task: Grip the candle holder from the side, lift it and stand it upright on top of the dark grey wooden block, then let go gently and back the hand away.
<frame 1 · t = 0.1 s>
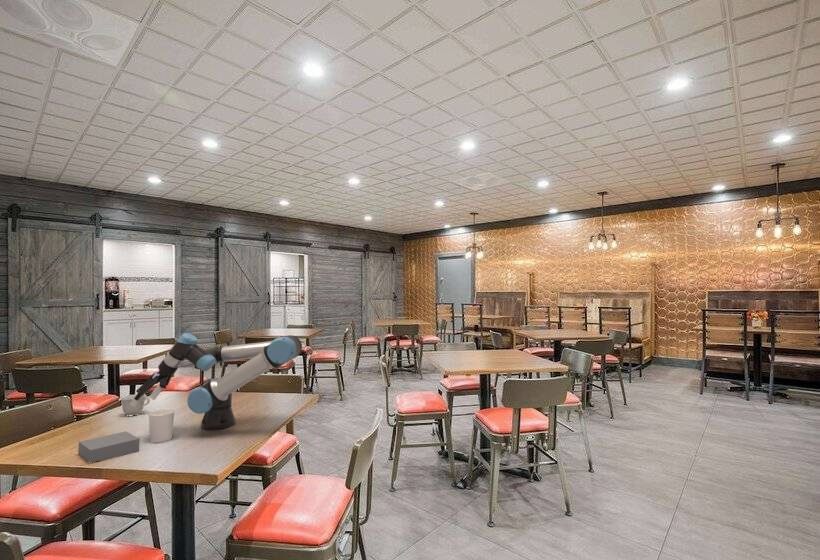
hand: (142, 401, 181), 15 cm above the table, tool tilted 35°, fingers open, 13 cm apart
teacup: (135, 415, 215), on the table
riser block: (108, 452, 159), on the table
candle holder: (160, 440, 174), on the table
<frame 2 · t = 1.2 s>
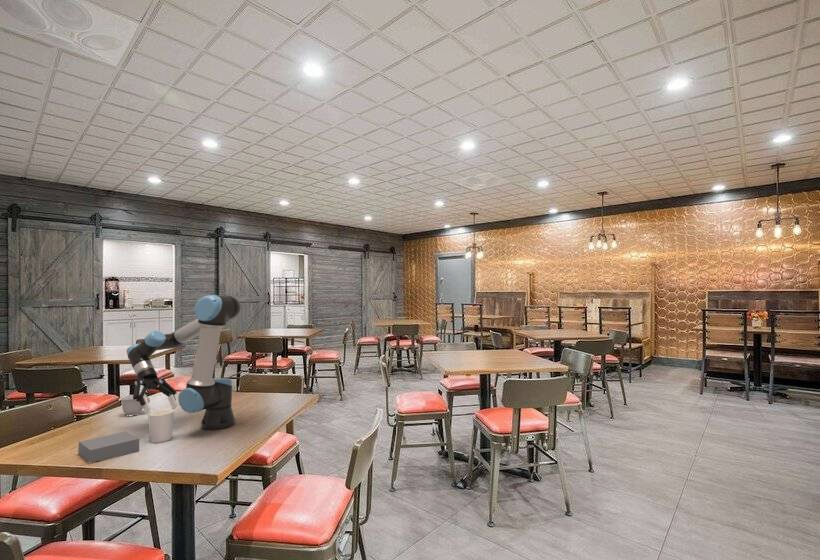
hand: (162, 409, 180), 12 cm above the table, tool tilted 45°, fingers open, 13 cm apart
nothing on the table moved.
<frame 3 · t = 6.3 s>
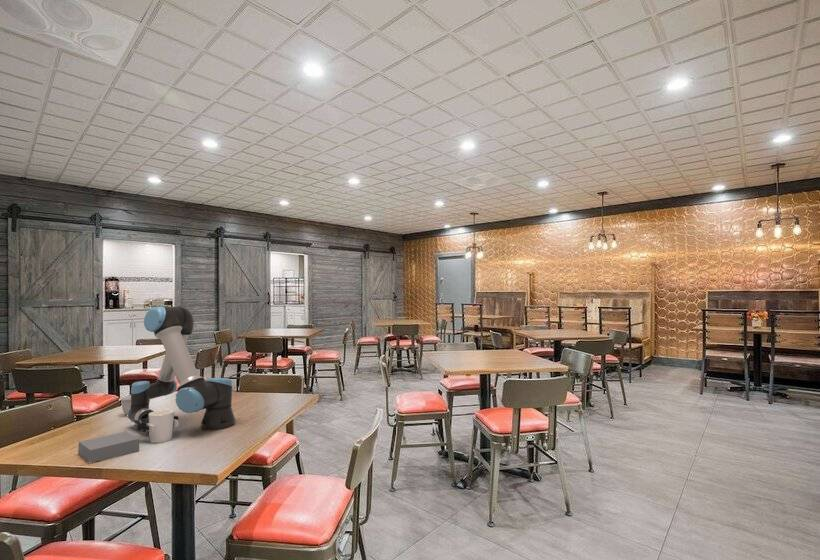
hand: (165, 426, 171), 7 cm above the table, tool horizontal, fingers closed on candle holder, 9 cm apart
candle holder: (160, 440, 174), on the table, touching gripper
everything else where it was.
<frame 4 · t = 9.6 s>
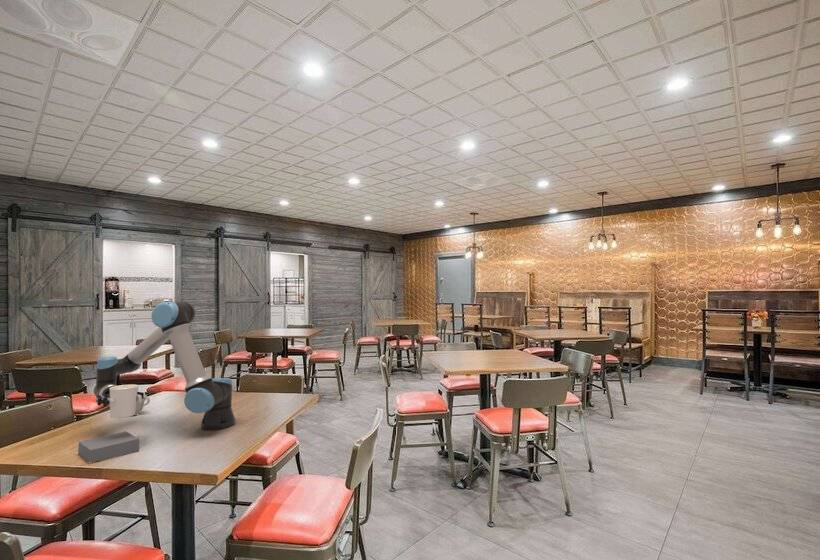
hand: (127, 401, 162), 20 cm above the table, tool horizontal, fingers closed on candle holder, 9 cm apart
candle holder: (122, 416, 165), point 13 cm above the table, touching gripper
everything else where it was.
when the fingers open (12 cm above the table, at t = 12.6 s): candle holder moves 2 cm, resting on riser block.
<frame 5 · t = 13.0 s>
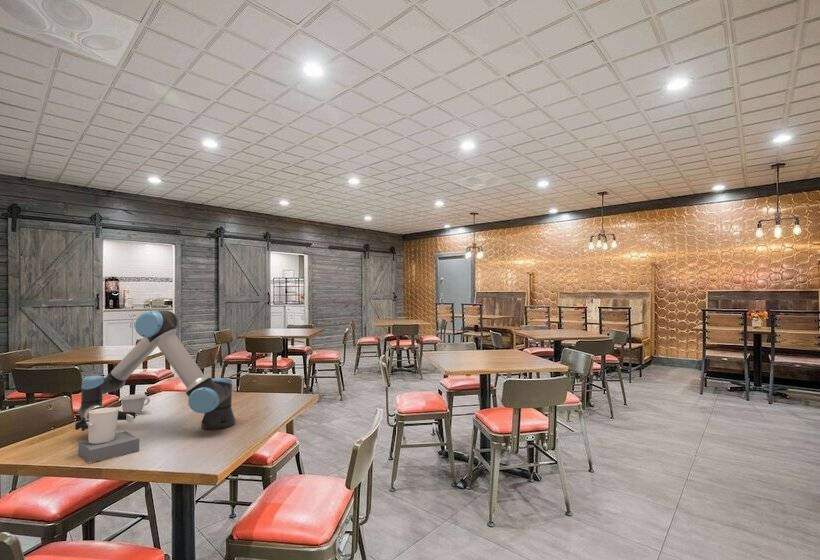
hand: (112, 424, 157), 12 cm above the table, tool horizontal, fingers open, 13 cm apart
candle holder: (101, 441, 158), point 5 cm above the table, touching gripper, riser block
everything else where it was.
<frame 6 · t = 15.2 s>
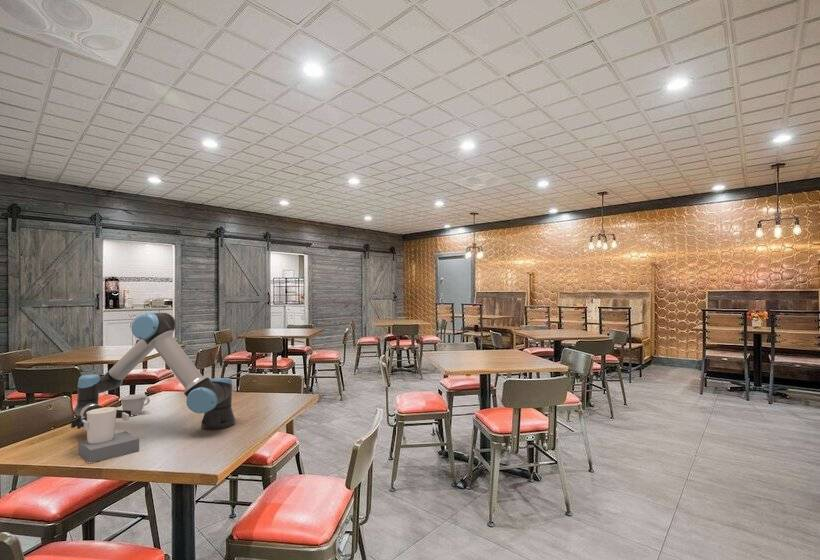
hand: (108, 422, 160), 12 cm above the table, tool horizontal, fingers open, 13 cm apart
candle holder: (100, 440, 159), point 5 cm above the table, touching riser block
everything else where it was.
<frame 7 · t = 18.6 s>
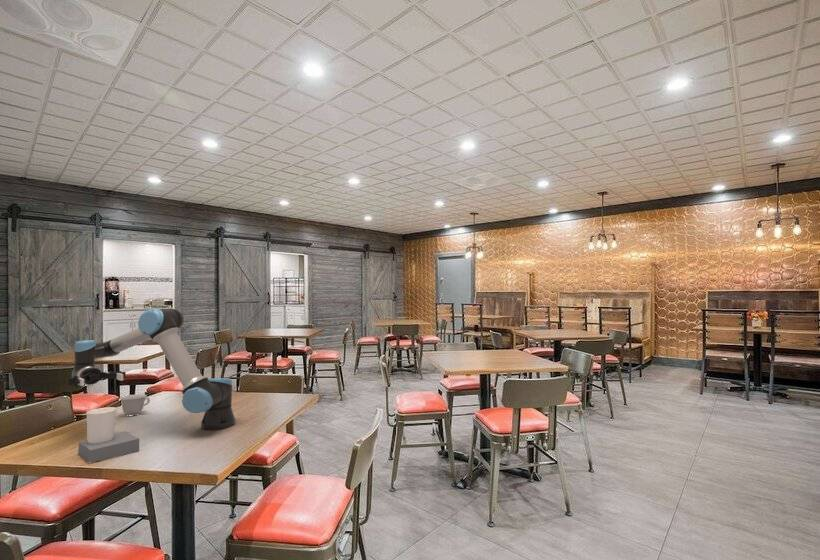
hand: (103, 380, 167), 28 cm above the table, tool horizontal, fingers open, 13 cm apart
nothing on the table moved.
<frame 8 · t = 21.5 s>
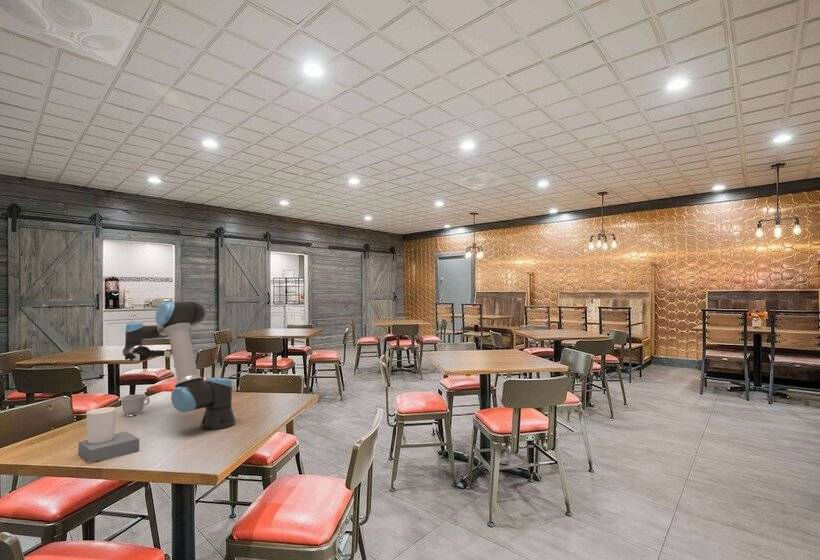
hand: (155, 356, 192), 35 cm above the table, tool horizontal, fingers open, 13 cm apart
nothing on the table moved.
at the end: candle holder inside the target area on the riser block (3.3 cm from its centre), point 4.8 cm above the riser block's base; candle holder tilted 0°; the gripper is holding nothing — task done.
